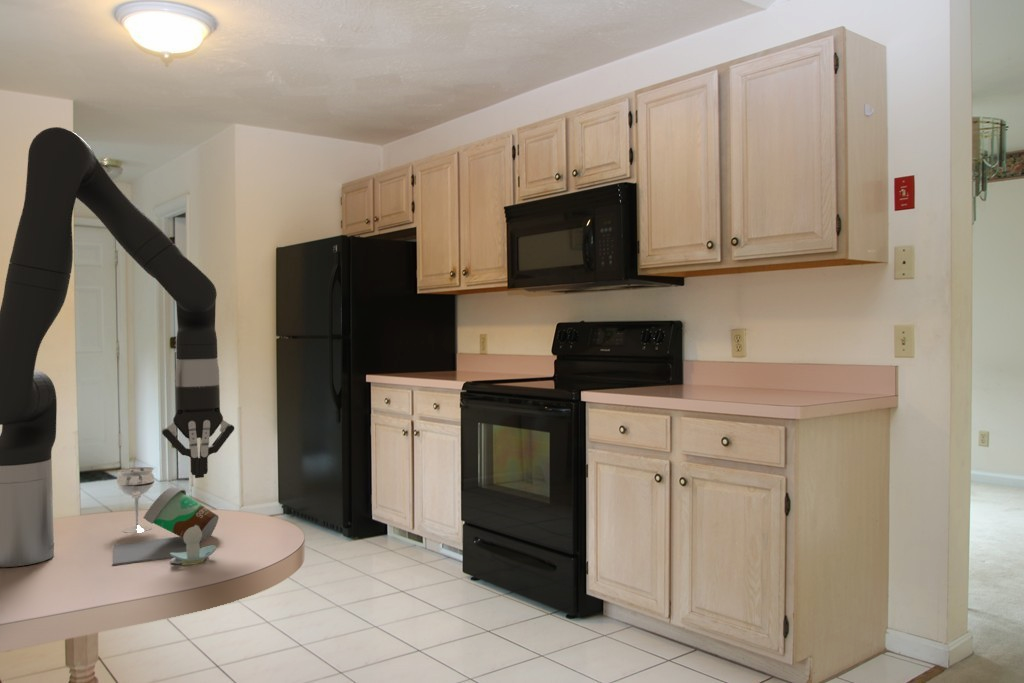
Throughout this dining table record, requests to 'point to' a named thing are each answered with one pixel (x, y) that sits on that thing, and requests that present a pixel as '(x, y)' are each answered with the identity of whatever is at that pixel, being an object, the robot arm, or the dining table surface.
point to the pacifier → (192, 548)
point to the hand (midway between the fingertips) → (199, 477)
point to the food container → (181, 513)
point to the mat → (147, 550)
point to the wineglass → (136, 488)
